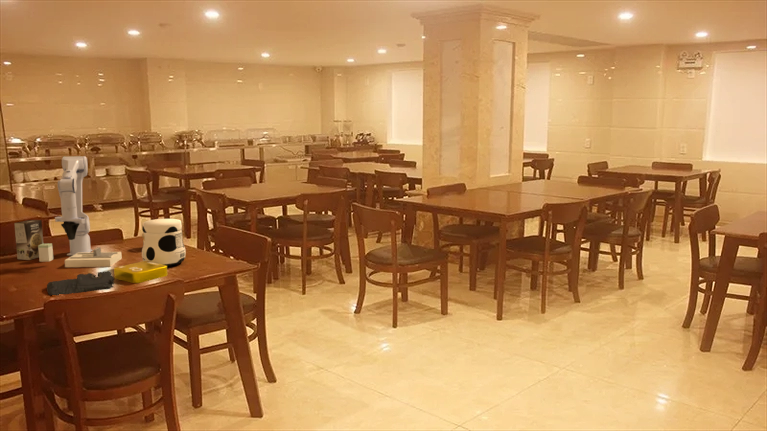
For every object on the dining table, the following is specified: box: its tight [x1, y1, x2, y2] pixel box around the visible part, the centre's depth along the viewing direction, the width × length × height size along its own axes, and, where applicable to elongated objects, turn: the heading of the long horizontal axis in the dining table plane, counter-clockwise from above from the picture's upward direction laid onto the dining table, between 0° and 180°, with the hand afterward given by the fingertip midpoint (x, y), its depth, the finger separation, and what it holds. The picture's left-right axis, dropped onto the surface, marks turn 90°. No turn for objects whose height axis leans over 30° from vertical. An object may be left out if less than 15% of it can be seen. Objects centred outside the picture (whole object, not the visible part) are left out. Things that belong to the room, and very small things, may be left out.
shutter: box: [92, 247, 115, 257], centre depth 262 cm, size 6×6×3 cm
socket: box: [64, 251, 123, 268], centre depth 262 cm, size 14×18×4 cm
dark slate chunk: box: [46, 270, 115, 296], centre depth 226 cm, size 15×22×5 cm
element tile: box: [113, 260, 168, 284], centre depth 241 cm, size 15×15×5 cm
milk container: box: [141, 218, 187, 267], centre depth 259 cm, size 17×17×18 cm
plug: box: [38, 242, 54, 263], centre depth 266 cm, size 4×4×7 cm
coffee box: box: [13, 219, 44, 261], centre depth 270 cm, size 9×6×16 cm
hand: (71, 239), depth 262 cm, fingers closed
